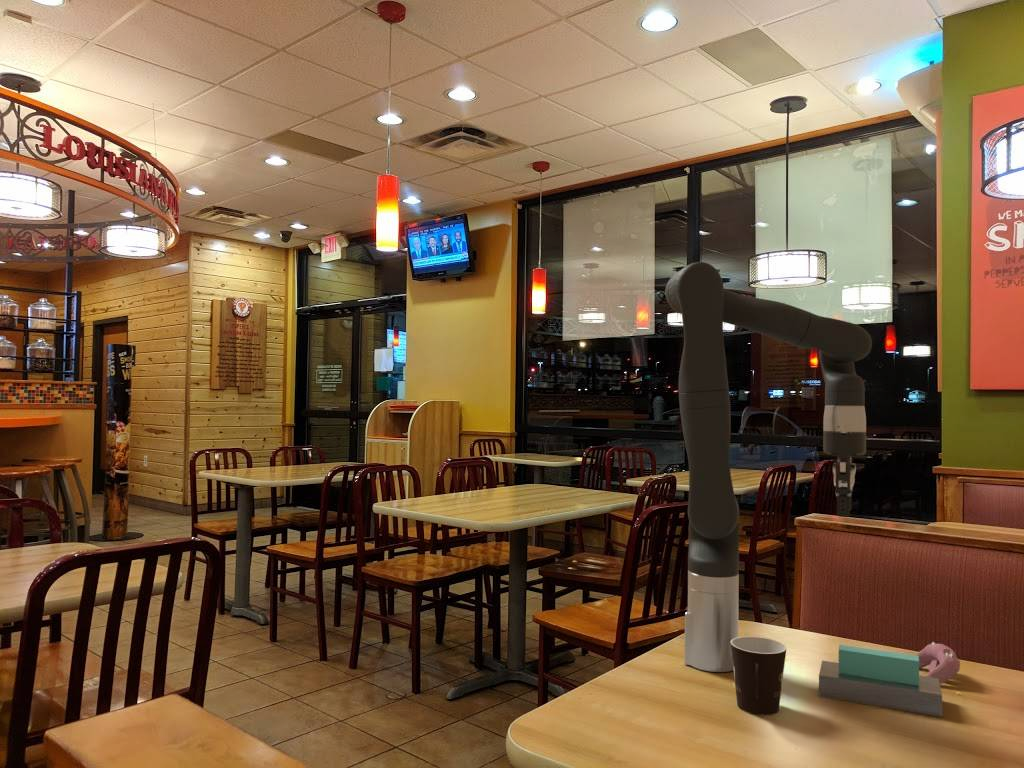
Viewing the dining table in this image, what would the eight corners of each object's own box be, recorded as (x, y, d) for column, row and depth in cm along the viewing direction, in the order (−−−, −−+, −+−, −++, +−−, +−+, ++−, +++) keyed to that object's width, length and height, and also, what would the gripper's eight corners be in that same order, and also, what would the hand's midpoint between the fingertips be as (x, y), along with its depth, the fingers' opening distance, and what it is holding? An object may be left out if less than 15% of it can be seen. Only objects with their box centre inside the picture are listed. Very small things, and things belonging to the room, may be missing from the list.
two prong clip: (838, 691, 126) (838, 649, 127) (839, 685, 129) (839, 644, 129) (919, 704, 121) (919, 661, 121) (918, 698, 124) (918, 655, 124)
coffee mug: (746, 692, 127) (746, 633, 127) (795, 707, 121) (795, 645, 121) (710, 711, 119) (710, 648, 119) (761, 729, 112) (761, 662, 113)
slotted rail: (818, 696, 126) (818, 675, 126) (822, 680, 133) (822, 660, 133) (942, 717, 118) (942, 695, 118) (938, 699, 125) (938, 678, 125)
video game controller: (950, 696, 130) (970, 661, 130) (925, 683, 131) (944, 648, 131) (928, 676, 140) (946, 643, 140) (905, 663, 141) (923, 631, 140)
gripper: (825, 427, 152) (825, 507, 152) (820, 429, 139) (820, 517, 139) (866, 428, 149) (866, 510, 148) (865, 431, 136) (865, 520, 136)
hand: (844, 513), depth 144 cm, fingers open, 8 cm apart
